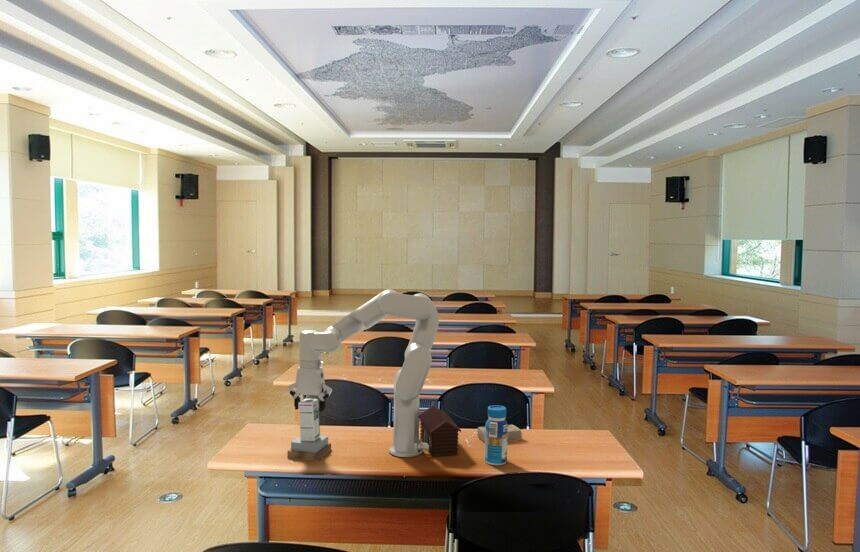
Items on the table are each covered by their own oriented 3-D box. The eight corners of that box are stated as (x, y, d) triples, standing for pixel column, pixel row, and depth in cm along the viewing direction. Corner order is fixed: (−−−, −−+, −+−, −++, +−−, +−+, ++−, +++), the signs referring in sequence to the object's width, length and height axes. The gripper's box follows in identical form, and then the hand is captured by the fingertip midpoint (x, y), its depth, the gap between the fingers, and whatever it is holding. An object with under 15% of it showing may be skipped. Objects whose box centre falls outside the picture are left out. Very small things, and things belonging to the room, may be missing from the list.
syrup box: (314, 441, 224) (313, 402, 223) (299, 441, 225) (298, 402, 224) (320, 436, 230) (319, 398, 229) (305, 436, 231) (304, 398, 230)
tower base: (331, 450, 232) (331, 443, 232) (318, 462, 221) (318, 454, 220) (301, 447, 235) (301, 440, 235) (287, 459, 223) (287, 451, 223)
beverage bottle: (479, 459, 225) (481, 405, 223) (499, 456, 228) (501, 403, 227) (491, 467, 217) (492, 412, 216) (511, 464, 221) (513, 409, 219)
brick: (512, 433, 254) (512, 422, 254) (522, 440, 246) (522, 428, 246) (476, 438, 249) (476, 426, 248) (485, 445, 241) (485, 433, 240)
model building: (418, 439, 246) (418, 402, 244) (446, 437, 248) (446, 400, 247) (430, 457, 226) (431, 418, 224) (460, 455, 228) (461, 416, 227)
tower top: (328, 444, 231) (328, 436, 231) (315, 453, 222) (315, 445, 221) (304, 441, 234) (304, 433, 234) (291, 450, 224) (291, 442, 224)
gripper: (335, 363, 227) (335, 408, 228) (292, 360, 231) (292, 405, 232) (328, 367, 220) (327, 414, 221) (283, 364, 223) (283, 410, 225)
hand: (309, 409), depth 226 cm, fingers open, 9 cm apart
